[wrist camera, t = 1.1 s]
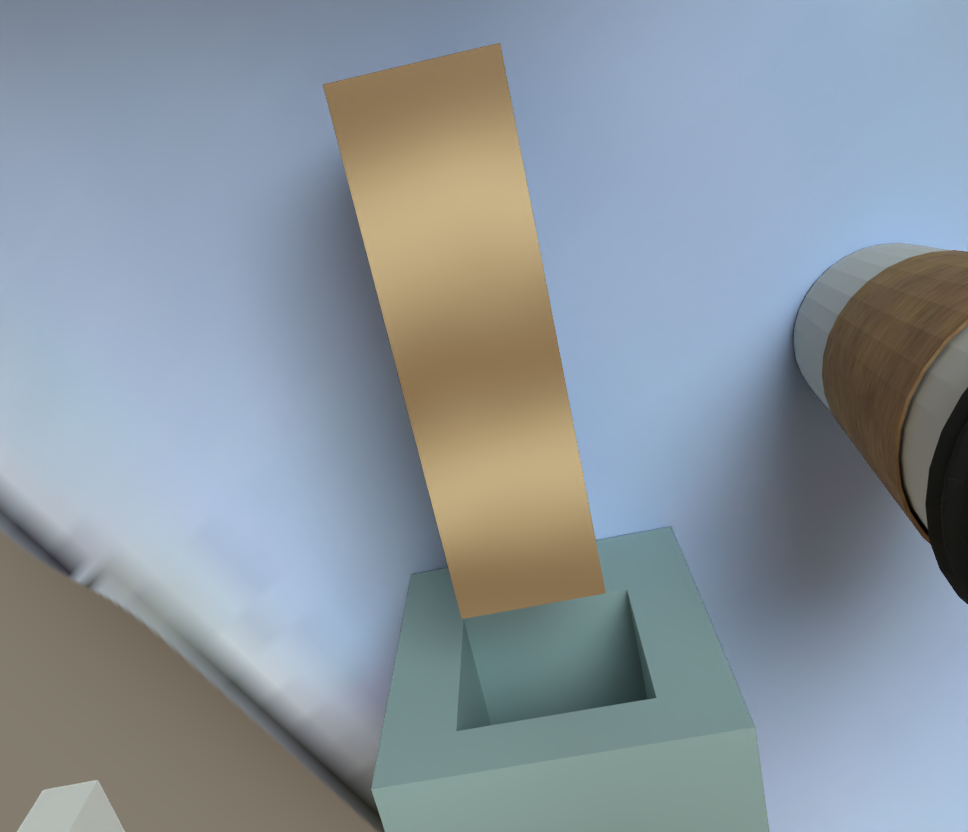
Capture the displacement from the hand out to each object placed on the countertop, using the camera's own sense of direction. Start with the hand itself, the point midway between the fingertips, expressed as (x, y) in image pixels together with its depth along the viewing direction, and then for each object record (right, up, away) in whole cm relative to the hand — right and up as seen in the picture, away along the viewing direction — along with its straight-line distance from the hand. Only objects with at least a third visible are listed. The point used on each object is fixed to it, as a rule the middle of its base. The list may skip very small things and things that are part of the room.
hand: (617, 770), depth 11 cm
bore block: (+1, -4, +23) cm, 23 cm away
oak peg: (-2, +7, +14) cm, 16 cm away
